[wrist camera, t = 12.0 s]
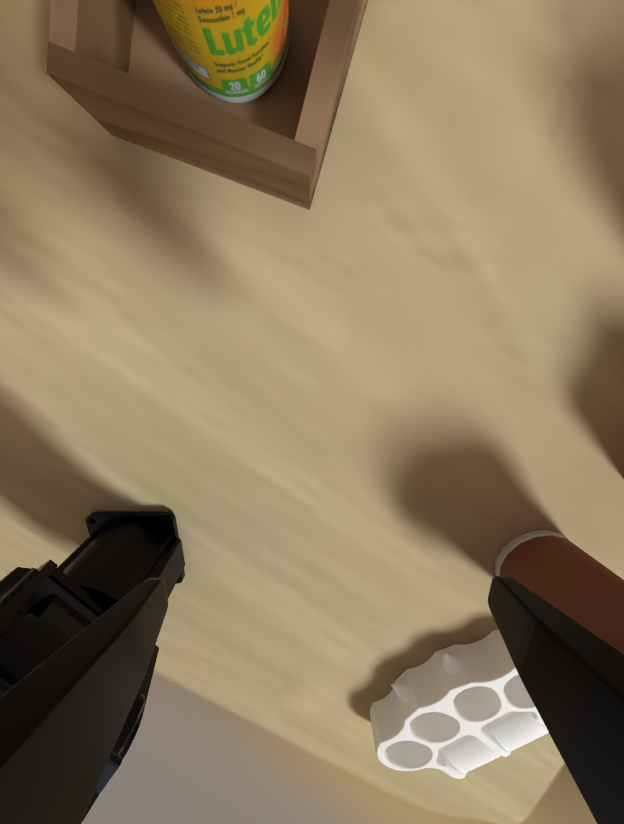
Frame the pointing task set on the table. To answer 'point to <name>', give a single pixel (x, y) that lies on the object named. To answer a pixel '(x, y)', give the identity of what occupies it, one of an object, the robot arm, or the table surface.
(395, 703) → the white egg tray
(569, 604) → the coffee cup
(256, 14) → the supplement bottle
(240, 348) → the table surface
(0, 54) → the table surface
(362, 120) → the table surface
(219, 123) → the crate
